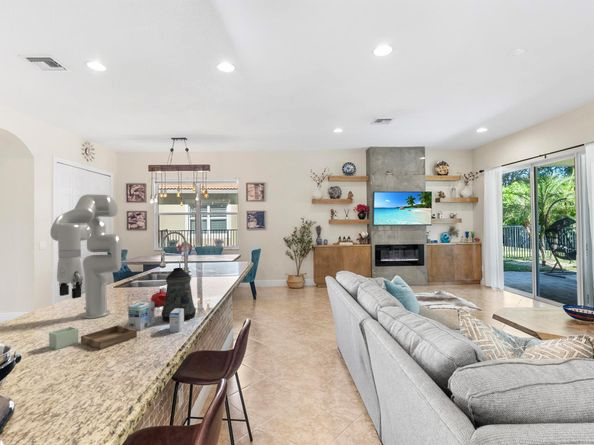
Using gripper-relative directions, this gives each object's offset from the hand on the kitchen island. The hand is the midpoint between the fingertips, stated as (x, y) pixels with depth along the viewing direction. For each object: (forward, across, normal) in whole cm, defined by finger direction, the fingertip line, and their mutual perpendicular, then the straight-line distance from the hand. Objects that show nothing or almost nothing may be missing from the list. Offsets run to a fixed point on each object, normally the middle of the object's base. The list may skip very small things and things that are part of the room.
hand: (70, 296), depth 135 cm
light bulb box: (+20, +5, +28) cm, 35 cm away
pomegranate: (+19, -21, +58) cm, 64 cm away
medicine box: (+20, +23, +34) cm, 45 cm away
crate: (+19, +9, +10) cm, 24 cm away
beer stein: (+19, +7, +46) cm, 51 cm away
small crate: (+19, -1, -2) cm, 20 cm away
